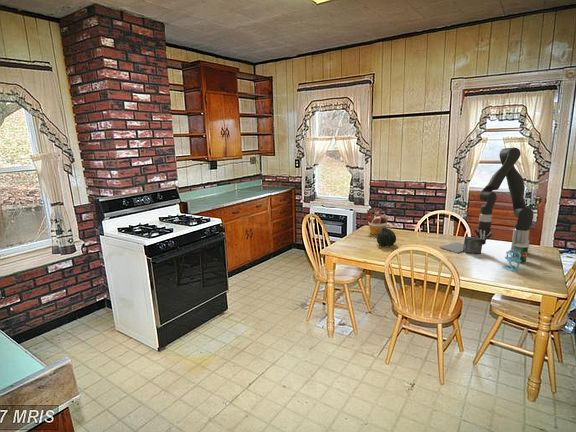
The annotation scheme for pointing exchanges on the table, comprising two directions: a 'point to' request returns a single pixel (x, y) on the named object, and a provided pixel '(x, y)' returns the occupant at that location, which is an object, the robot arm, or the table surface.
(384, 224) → the bucket of meat
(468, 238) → the small box
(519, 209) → the robot arm
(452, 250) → the mat
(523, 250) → the canned tomato
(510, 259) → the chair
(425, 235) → the table surface
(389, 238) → the squash
